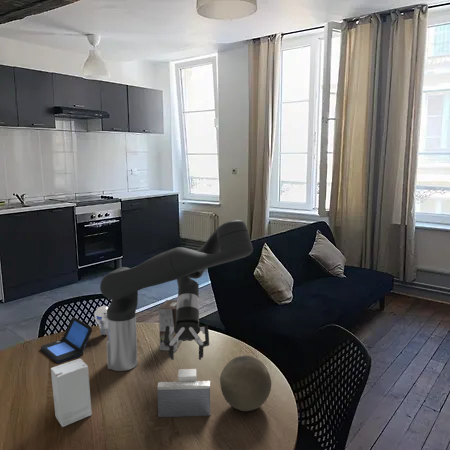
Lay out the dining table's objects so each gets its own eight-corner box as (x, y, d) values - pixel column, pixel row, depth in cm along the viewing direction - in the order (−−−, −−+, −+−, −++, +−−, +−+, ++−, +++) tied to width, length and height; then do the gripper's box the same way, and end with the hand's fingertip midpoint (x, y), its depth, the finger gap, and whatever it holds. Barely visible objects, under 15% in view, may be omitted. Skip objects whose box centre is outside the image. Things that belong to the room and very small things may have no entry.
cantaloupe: (221, 394, 120) (221, 346, 118) (269, 395, 120) (269, 347, 118) (219, 425, 107) (218, 371, 104) (273, 426, 106) (274, 372, 104)
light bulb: (117, 333, 163) (116, 304, 161) (105, 340, 156) (104, 310, 154) (103, 330, 165) (102, 302, 164) (91, 337, 159) (90, 307, 157)
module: (178, 410, 113) (177, 376, 111) (179, 401, 117) (178, 369, 115) (196, 409, 113) (196, 376, 112) (196, 401, 117) (196, 368, 116)
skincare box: (84, 406, 115) (81, 356, 112) (92, 416, 110) (89, 365, 108) (53, 417, 109) (49, 366, 107) (60, 429, 105) (57, 375, 103)
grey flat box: (158, 417, 110) (157, 387, 108) (159, 411, 112) (158, 382, 111) (210, 415, 110) (210, 385, 109) (210, 410, 113) (210, 380, 111)
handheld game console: (39, 349, 149) (38, 325, 148) (74, 338, 159) (73, 316, 157) (58, 364, 138) (56, 339, 137) (94, 351, 148) (93, 327, 146)
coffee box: (176, 351, 147) (175, 309, 145) (159, 350, 148) (158, 308, 146) (182, 340, 156) (181, 300, 154) (166, 339, 157) (165, 299, 155)
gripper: (165, 305, 132) (161, 355, 123) (209, 305, 133) (209, 354, 123) (167, 315, 138) (164, 363, 129) (209, 314, 139) (209, 362, 129)
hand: (186, 359), depth 126 cm, fingers open, 8 cm apart
